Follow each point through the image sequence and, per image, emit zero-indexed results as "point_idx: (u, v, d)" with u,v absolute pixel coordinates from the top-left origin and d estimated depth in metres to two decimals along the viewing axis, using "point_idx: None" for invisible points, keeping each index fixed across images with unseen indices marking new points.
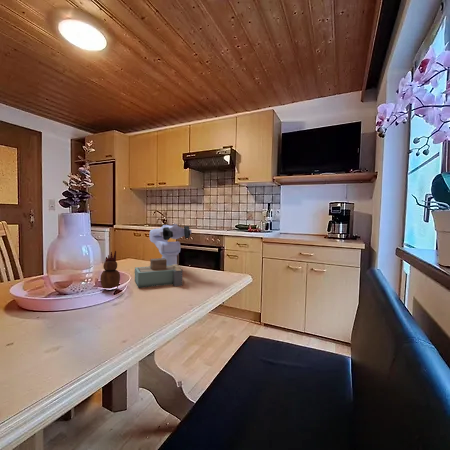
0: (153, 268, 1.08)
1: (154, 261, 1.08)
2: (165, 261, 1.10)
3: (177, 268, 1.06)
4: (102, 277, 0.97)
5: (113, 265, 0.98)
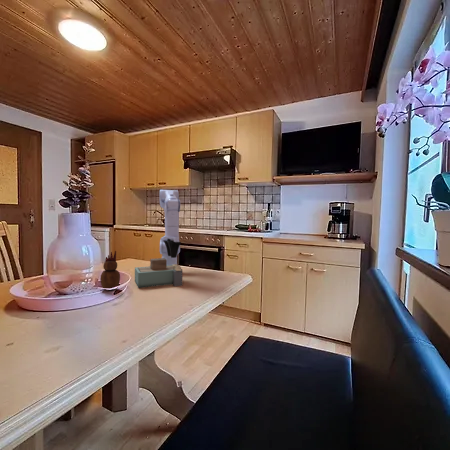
0: (153, 268, 1.08)
1: (154, 261, 1.08)
2: (165, 261, 1.10)
3: (177, 268, 1.06)
4: (102, 277, 0.97)
5: (113, 265, 0.98)
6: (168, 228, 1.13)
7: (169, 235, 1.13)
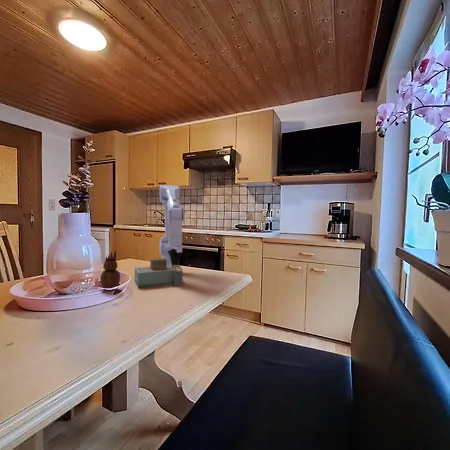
0: (153, 268, 1.08)
1: (154, 261, 1.08)
2: (165, 261, 1.10)
3: (178, 269, 1.05)
4: (102, 277, 0.97)
5: (113, 265, 0.98)
6: (171, 238, 1.08)
7: (172, 245, 1.08)
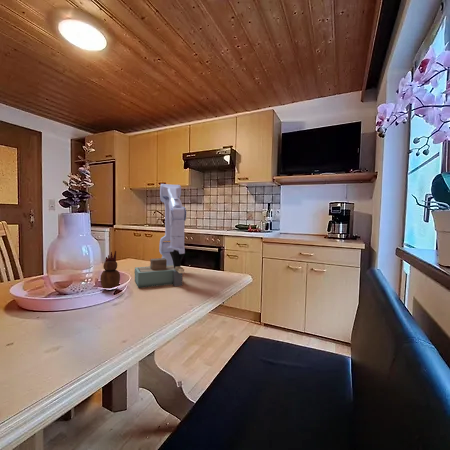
0: (153, 268, 1.08)
1: (154, 261, 1.08)
2: (165, 261, 1.10)
3: (180, 270, 1.02)
4: (102, 277, 0.97)
5: (113, 265, 0.98)
6: (173, 238, 1.05)
7: (174, 246, 1.05)
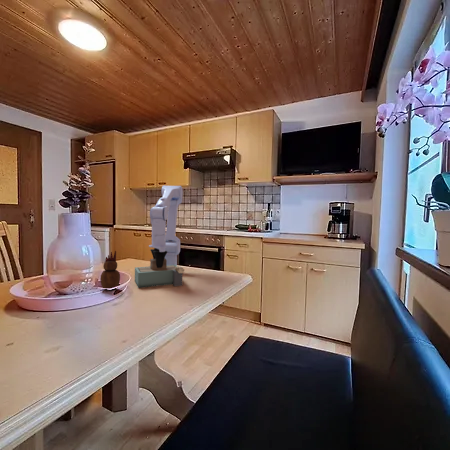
0: (153, 268, 1.08)
1: (154, 261, 1.08)
2: (165, 261, 1.10)
3: (180, 270, 1.02)
4: (102, 277, 0.97)
5: (113, 265, 0.98)
6: (154, 237, 1.08)
7: (155, 244, 1.08)
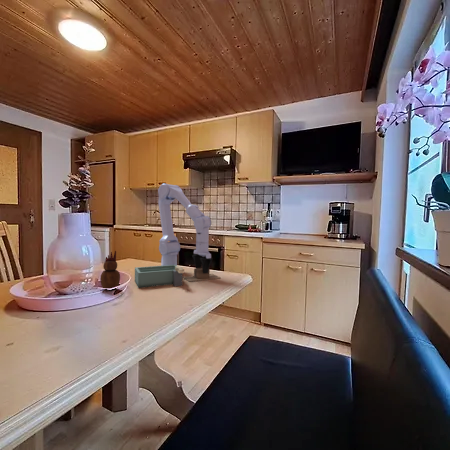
0: (198, 277, 1.17)
1: (199, 271, 1.17)
2: (208, 270, 1.20)
3: (180, 270, 1.02)
4: (102, 277, 0.97)
5: (113, 265, 0.98)
6: (199, 244, 1.17)
7: (200, 251, 1.17)
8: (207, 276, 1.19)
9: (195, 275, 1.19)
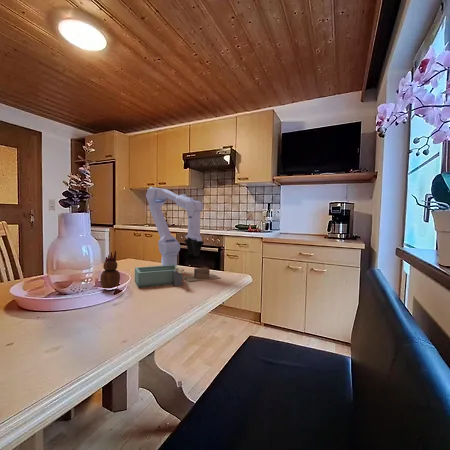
0: (198, 277, 1.17)
1: (199, 270, 1.17)
2: (208, 270, 1.19)
3: (180, 270, 1.02)
4: (102, 277, 0.97)
5: (113, 265, 0.98)
6: (190, 228, 1.18)
7: (191, 234, 1.18)
8: (207, 276, 1.19)
9: (195, 275, 1.19)
